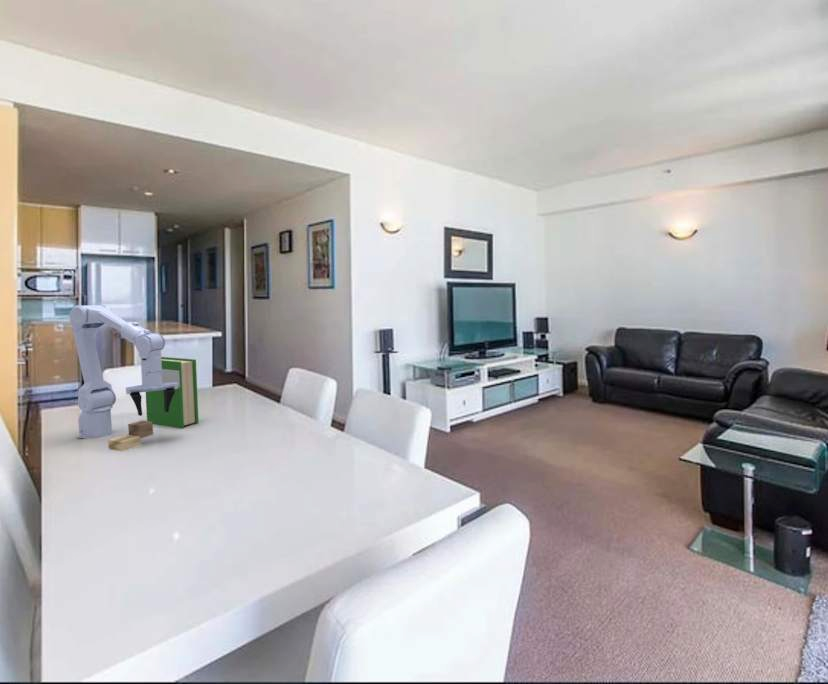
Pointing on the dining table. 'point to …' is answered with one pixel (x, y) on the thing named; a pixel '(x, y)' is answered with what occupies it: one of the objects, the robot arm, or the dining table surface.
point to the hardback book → (175, 395)
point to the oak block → (124, 442)
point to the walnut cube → (141, 428)
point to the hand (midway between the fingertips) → (153, 413)
